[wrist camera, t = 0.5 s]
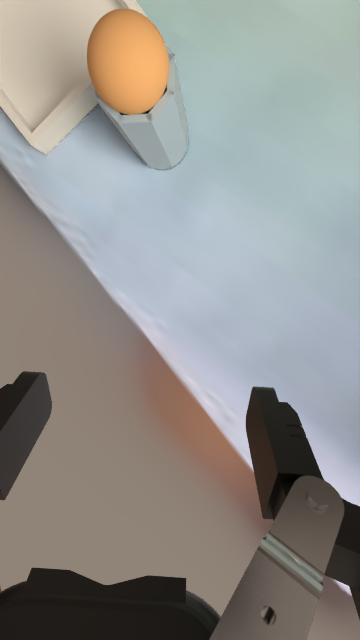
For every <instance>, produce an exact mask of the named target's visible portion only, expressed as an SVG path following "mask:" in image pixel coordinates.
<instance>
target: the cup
mask: <svg viewBox="0 0 360 640" xmlns="http://www.w3.org/2000/svg"><path fill="white" fill-rule="evenodd" d="M166 49H167V52H168V58H169V76H168V82H167V85H166V88H165V91H164V93H163V95H162V97H161V98H160V100H159V101H158V102H157V104H156V105H155V106H153V107H152V108H151V109H149V110H148V111H146V112H144V113H141V114H136V115H129V114H124V113H121V112H118V111H116V110H114V109H113V108H111V107H110V106H108V105H107V104H106V103H105V102H104V101H103V100H102V98H101V97H100V96H99V95H98V93H97V91H96V90H95V100H96V101H97V102H98V104H99V105H100V106H101V108H102V109H103V110H104V112H105V113H106V114H107V116H108V117H109V118H110V120H111V121H112V122H113V124H114V125H115V126H116V128H117V129H118V130H119V132H120V133H121V134H122V136H123V137H124V138H125V140H126V141H127V142H128V144H129V145H130V146H131V148H132V149H133V150H134V152H136V153H137V154H138V156H139V157H140V158H141V159H142V160H143V161H144V162H145V163H146V164H147V165H148V166H149V167H150V168H153V169H156V170H169V169H171V168H174V167H175V166H177V165H178V164H179V163H180V162H181V161H182V160H183V158H184V157H185V155H186V153H187V150H188V145H189V137H188V121H187V116H186V110H185V105H184V100H183V95H182V90H181V85H180V80H179V75H178V69H177V64H176V59H175V55H174V54H173V53H172V51H171V50H170V49H169V48H168V47H167V46H166Z"/></svg>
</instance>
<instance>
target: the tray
mask: <svg viewBox="0 0 360 640" xmlns="http://www.w3.org/2000/svg"><path fill="white" fill-rule="evenodd" d="M116 9H132V10H135V11H137V12H139V13H141V14H143V15H144V16H146V15H145V13H144V12H143V10H142V9H141V8H140V6H139V5H138V3H137V2H136V0H0V106H1V108H2V109H3V110H4V111H5V113H6V114H7V115H8V117H9V118H10V119H11V120H12V122H13V123H14V124H15V125H16V127H17V128H18V129H19V131H20V132H21V133H22V134H23V136H24V137H25V138H26V139H27V141H28V142H29V143H30V145H31V146H33V147H34V148H36V149H38V150H39V151H41V152H43V153H44V154H46V155H48V154H49V153H50V152H51V151H52V150H53V149H54V148H55V147H56V146H57V145H58V144H59V143H60V142H61V141H62V140H63V139H64V138H65V137H66V136H67V135H68V134H69V132H70V131H71V130H72V129H73V128H74V127H75V126H76V125H77V124H78V123H79V122H80V121H81V120H82V119H83V118H84V117H85V116H86V115H87V114H88V113H89V112H90V111H91V110H92V109H93V108H94V107H95V106H96V105H97V104H98V102H97V101H96V100H95V88H94V86H93V84H92V81H91V78H90V75H89V72H88V66H87V46H88V41H89V37H90V34H91V32H92V30H93V28H94V26H95V25H96V23H97V22H98V21H99V19H100V18H101V17H102V16H104V15H105V14H106V13H108V12H110V11H113V10H116ZM146 17H147V16H146ZM147 18H148V17H147Z"/></svg>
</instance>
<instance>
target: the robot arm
mask: <svg viewBox="0 0 360 640" xmlns="http://www.w3.org/2000/svg"><path fill="white" fill-rule="evenodd" d="M51 409H52V401H51V396H50V391H49V386H48V382H47V377H46V374H45V373H41V372H22V373H21V374H20V375H19V376H18V378H17V379H16V380H15V382H14V383H13V384H7V385H5V386H4V387H2V388H1V389H0V500H5V499H6V497H7V495H8V493H9V491H10V489H11V488H12V486H13V484H14V482H15V480H16V478H17V476H18V475H19V473H20V471H21V469H22V467H23V465H24V463H25V461H26V460H27V458H28V456H29V454H30V452H31V450H32V448H33V447H34V445H35V443H36V441H37V439H38V438H39V436H40V434H41V432H42V430H43V428H44V426H45V425H46V423H47V421H48V419H49V417H50V414H51ZM246 432H247V438H248V443H249V448H250V453H251V459H252V464H253V469H254V474H255V479H256V485H257V490H258V495H259V500H260V506H261V511H262V516H263V518H264V519H273V520H274V522H273V524H272V526H271V528H270V530H269V532H268V534H267V535H266V537H265V538H263V540H262V541H261V543H260V545H259V547H258V548H257V550H256V552H255V554H254V556H253V558H252V560H251V562H250V564H249V566H248V567H247V569H246V571H245V573H244V575H243V577H242V579H241V581H240V583H239V584H238V587H237V588H236V590H235V592H234V594H233V596H232V598H231V600H230V601H229V603H228V605H227V607H226V609H225V611H224V613H223V615H222V617H221V616H220V615H219V614H218V613H217V612H216V611H215V610H214V609H213V608H212V607H211V606H210V605H209V604H207V602H205V601H204V600H203V599H201V598H200V597H198V596H197V595H195V594H193V593H191V592H189V591H187V590H186V578H176V577H175V578H174V577H162V576H161V577H160V576H144V577H140V578H136V579H132V580H128V581H124V582H120V583H117V584H113V585H103V584H100V583H98V582H96V581H93V580H91V579H89V578H87V577H84V576H82V575H80V574H77V573H75V572H73V571H70V570H59V569H45V568H32V569H31V571H30V574H29V577H28V579H27V581H25V582H21V583H19V584H16V585H14V586H11V587H9V588H7V589H5V590H4V591H1V587H0V640H306V639H307V636H308V633H309V630H310V627H311V624H312V621H313V618H314V615H315V612H316V608H317V605H318V602H319V599H320V596H321V592H322V588H323V583H322V580H323V577H324V575H326V576H328V577H330V578H333V579H335V580H337V581H339V582H342V583H344V584H346V585H348V586H349V587H350V590H351V593H352V597H353V600H354V603H355V606H356V609H357V612H358V616H359V619H360V506H357V505H354V504H352V503H350V502H347V501H346V500H344V499H342V498H341V497H340V495H339V493H338V492H337V491H336V490H335V489H334V487H332V486H331V485H330V484H329V483H327V482H326V481H324V479H323V477H322V475H321V472H320V470H319V467H318V465H317V462H316V460H315V457H314V455H313V452H312V449H311V447H310V444H309V442H308V439H307V438H306V434H305V432H304V429H303V428H302V424H301V422H300V419H299V417H298V414H297V413H296V412H295V410H294V409H293V408H292V407H291V406H290V405H289V404H288V403H287V402H279V401H278V398H277V395H276V392H275V390H274V388H268V387H253V388H252V391H251V396H250V401H249V405H248V410H247V415H246Z"/></svg>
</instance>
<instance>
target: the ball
mask: <svg viewBox="0 0 360 640" xmlns="http://www.w3.org/2000/svg"><path fill="white" fill-rule="evenodd" d="M87 66H88V72H89V75H90V78H91V81H92V84H93V86H94V88H95V90H96V91H97V93H98V95H99V96H100V97H101V98H102V100H103V101H104V102H105V103H106V104H107V105H108V106H110V107H111V108H113V109H114V110H116V111H118V112H121V113H124V114H129V115H136V114H141V113H144V112H146V111H148V110H149V109H151V108H152V107H153V106H155V105H156V104H157V102H158V101H159V100H160V98H161V97H162V95H163V93H164V91H165V88H166V85H167V82H168V76H169V58H168V52H167V49H166V45H165V42H164V40H163V38H162V36H161V34H160V32H159V31H158V29H157V28H156V26H155V25H154V24H153V23H152V22H151V21H150V20H149V19H148V18H147V17H146V16H144V15H143V14H141V13H139V12H137V11H135V10H132V9H116V10H113V11H110V12H108V13H106V14H105V15H104V16H102V17H101V18H100V19H99V21H98V22H97V23H96V25H95V26H94V28H93V30H92V32H91V34H90V37H89V41H88V46H87Z"/></svg>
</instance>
